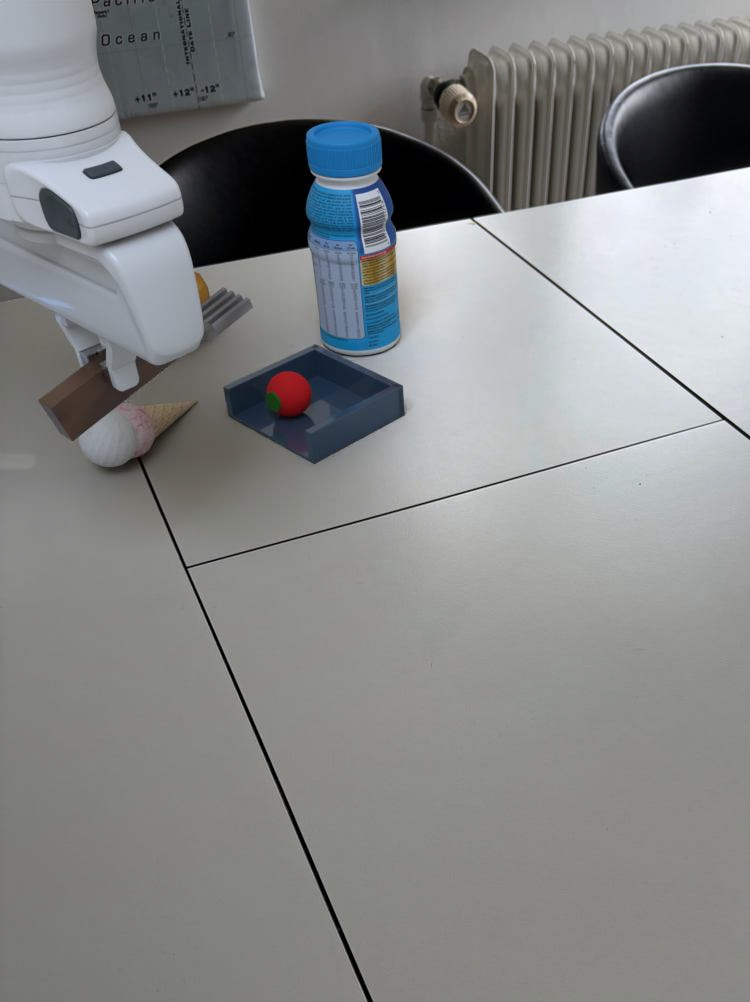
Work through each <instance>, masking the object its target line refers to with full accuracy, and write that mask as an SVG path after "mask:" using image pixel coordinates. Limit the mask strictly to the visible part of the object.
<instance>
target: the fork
mask: <svg viewBox="0 0 750 1002" xmlns="http://www.w3.org/2000/svg"><path fill="white" fill-rule="evenodd" d="M253 308H254V306H253V303H252V302H251V299H250V298H249V297H243V295H242V294H240V293H237V294H236V293H235V292H234V291H233V290H229V291H228V289H227V288H226V287H224V286H223V287H221V288H220V289H218V290H217V291H216V292H215V293H213V294H211V295H210V297H209V298H208V299H207V300H206V301H204V302H203V303H202V304H201V310H202V316H203V324H204V334H203V337H202V340H204V341H206V342H208V343H211V342H212V341H214V340H215V339H216V338H217V337H218V336H219V335H221V334H222V333H223V332H224V331H225V330H227V329H228V328H230V326H232V325H233V324H234V323H235V322H237V321H239V320H240V319H241V318H242V317H244V316H245V315H246V314H247V313H248V312H250V311H251V310H252V309H253ZM178 359H179V358H177V359H175V360H173V361H170V362H168V363H165V364H162V365H154V364H151V363H149V362H148V361H146V360H144V359H142V358H140V357H138V356H136V360H135V363H136V367H137V371H138V375H139V382H138V384H137V385H136V386H134V387H132V388H130V389H127V390H125V391H119V390H117V389H115V388H113V387H112V386H110V385H108V384H107V383H106V382H105V379H104V374H103V372H102V369H101V366H100V363H101V362H103V361H105V360H106V349H105V350H104V351H103V352H101V353H100V354H98V355H97V356H96V357H95V358H93V359H92V360H91V361H89V362H88V363H87V364H85V365H84V366H83V367H81V368H80V367H79V368H78V369H77V370H76V371H75V372H73V373H72V374H70V375H69V376H68V377H67V378H65V379H64V380H63V381H62V382H61V381H60V383H59V384H58V385H56V386H55V387H53V388H52V389H51V390H50V391H49V392H47V393H45V394H44V395H43V396H42V397H40V398H38V400H37V402H38V404H39V405H40V406H41V407H42V409H43V410H44V412H45V413H46V414H47V416H48V418H49V419H50V421H51V423H52V424H53V425H54V427H55V428H56V430H57V431H58V433H59V434H60V435H62V436H64V437H65V438H67V439H68V440H70V441H71V442H75V441H76V440H77V439H79V436H80V435H82V434H83V433H84V432H85V431H87V430H88V429H89V428H90V427H92V426H93V425H94V424H96V423H97V422H98V421H99V420H101V419H102V418H103V417H104V416H106V415H107V414H108V413H110V412H111V411H112V410H113V409H115V408H116V407H117V406H118V405H120V404H121V403H125V401H126V400H128V399H129V398H130V397H131V396H133V395H134V394H135V393H136V392H138V391H139V390H140V389H141V388H143V387H144V386H146V385H147V384H148V383H149V382H151V380H153V379H154V378H156V377H157V376H158V375H159V374H161V373H162V372H163V371H165V370H166V369H167V368H169V367H170V366H171V365H172V364H173V363H174V362H176V361H177V360H178Z"/></svg>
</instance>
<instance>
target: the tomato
mask: <svg viewBox="0 0 750 1002" xmlns="http://www.w3.org/2000/svg"><path fill="white" fill-rule="evenodd" d="M311 398H312V392H311V388H310V385H309V383H308V382H307V380H306V379H305V378H304V377H303V376H302V375H300V374H298V373H295V372H291V371H285V372H281V373H279V374H277V375H275V376H274V377H273V378H272V379H271V381H270V382H269V384H268V387H267V394H266V396H265V399H266V403H267V405H268V407H269V408H270V409H271V410H272V411H274V412H277V413H278V414H280V415H283V416H287V417H293V416H297V415H300V414H302V413H303V412H304V411H305V410H306V409H307V408H308V406H309V405H310V402H311Z"/></svg>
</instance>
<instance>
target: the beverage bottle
mask: <svg viewBox="0 0 750 1002" xmlns="http://www.w3.org/2000/svg"><path fill="white" fill-rule="evenodd" d="M305 137H306V138H305V146H306V147H305V149H306V157H307V162H308V168H309V170H310V173H311V174H312V175H313V176H314V177H315V179H314V180H313V183H312V184H311V187H310V190H309V192H308V195H307V198H306V204H305V214H306V217H307V219H308V220H309V222H310V225H309V228H308V231H307V244H308V249H309V251H310V253H311V261H312V268H313V276H314V278H313V279H314V284H315V285H314V286H315V292H316V300H317V302H316V303H317V308H318V318H319V333H320V338H321V342H322V343H323V344H324V345H325V346H326V347H327V348H328V350H330V351H332V352H334V353H337V354H341V355H345V356H358V357H359V356H369V355H375V354H379V353H382V352H384V351H387V350H389V349H390V348H392V347H393V346H395V345H396V344H397V343H398V342H399V340H400V338H401V332H402V329H401V320H400V305H399V287H398V267H397V251H396V249H397V248H396V245H397V241H398V240H397V239H398V238H397V230H396V227H395V225H394V223H393V221H392V220H391V217H392V216H393V214H394V204H393V200H392V197H391V195H390V193H389V190H388V188H387V187H386V185H385V184H384V182H383V180H382V179H381V177H380V176H379V175H378V174H379V173H380V172H381V170H382V168H383V167H382V165H383V148H382V137H381V133H380V130H379V129H378V128H377V127H376V126H375V125H373V124H370V123H367V122H362V121H354V120H339V121H338V120H337V121H329V122H325V123H321V124H318V125H315V126H313V127H311V128H310V129H309V130H307V132H306V134H305Z"/></svg>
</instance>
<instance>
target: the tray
mask: <svg viewBox="0 0 750 1002" xmlns="http://www.w3.org/2000/svg"><path fill="white" fill-rule="evenodd" d="M285 371H291V372H295V373H298V374H300V375H302V376H303V377H304V378H305V379H306V380H307V382H308V383H309V385H310V388H311V392H312V398H311V402H310V405H309V406H308V408H307V409H306V410H305V411H304V412H303V413H302V414H300V415H297V416H293V417H287V416H283V415H280V414H278V413H277V412H274V411H272V410H271V409H270V408H269V407H268V405H267V403H266V399H265V396H266V394H267V387H268V384H269V382H270V381H271V379H272V378H273V377H274V376H275V375H277V374H279V373H281V372H285ZM222 390H223V394H224V399H225V404H226V405H225V406H226V410H227V415H228V417H230V418H232V419H234V420H236V421H237V422H238V423H241V424H243V425H244V426H246V427H248V428H249V429H252V430H253V431H255V432H257V433H259V434H260V435H262V436H264V437H266V438H268V439H269V440H271V441H272V442H275V443H276V444H278V445H280V446H282V447H283V448H286V449H287V450H289V451H291V452H293V453H294V454H296V455H298V456H300V457H301V458H303V459H305V460H307V461H309V462H310V463H312V464H313V465H315V464H317V463H318V462H320V461H322V460H324V459H326V458H328V457H330V456H331V455H333V454H335V453H337V452H338V451H341V450H343V449H344V448H346V447H348V446H350V445H352V444H354V443H356V442H358V441H359V440H361V439H362V438H365V437H366V436H369V435H370V434H372V433H374V432H376V431H378V430H380V429H381V428H383V427H385V426H387V425H389V424H391V423H392V422H394V421H397V420H399V419H400V418H402V417H404V416H406V410H405V394H404V385H403V384H401V383H398V382H396V381H394V380H392V379H390V378H388V377H386V376H384V375H382V374H380V373H378V372H375V371H373V370H372V369H369V368H367V367H364V366H362V365H361V364H359V363H356V362H355V361H352V360H350V359H347V358H346V357H343V356H341V355H339V354H338V353H336V352H334V351H332V350H330V349H327V348H324V347H323V346H320V345H319V344H316V343H314V344H313V345H310V346H308V347H306V348H304V349H302V350H299V351H297V352H295V353H293V354H290V355H288V356H286V357H284V358H282V359H280V360H278V361H275V362H273V363H271V364H269V365H267V366H265V367H262V368H260V369H258V370H256V371H253V372H251V373H249V374H247V375H245V376H243V377H241V378H238V379H236V380H234V381H231V382H230V383H228V384H225V385H223V386H222Z"/></svg>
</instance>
